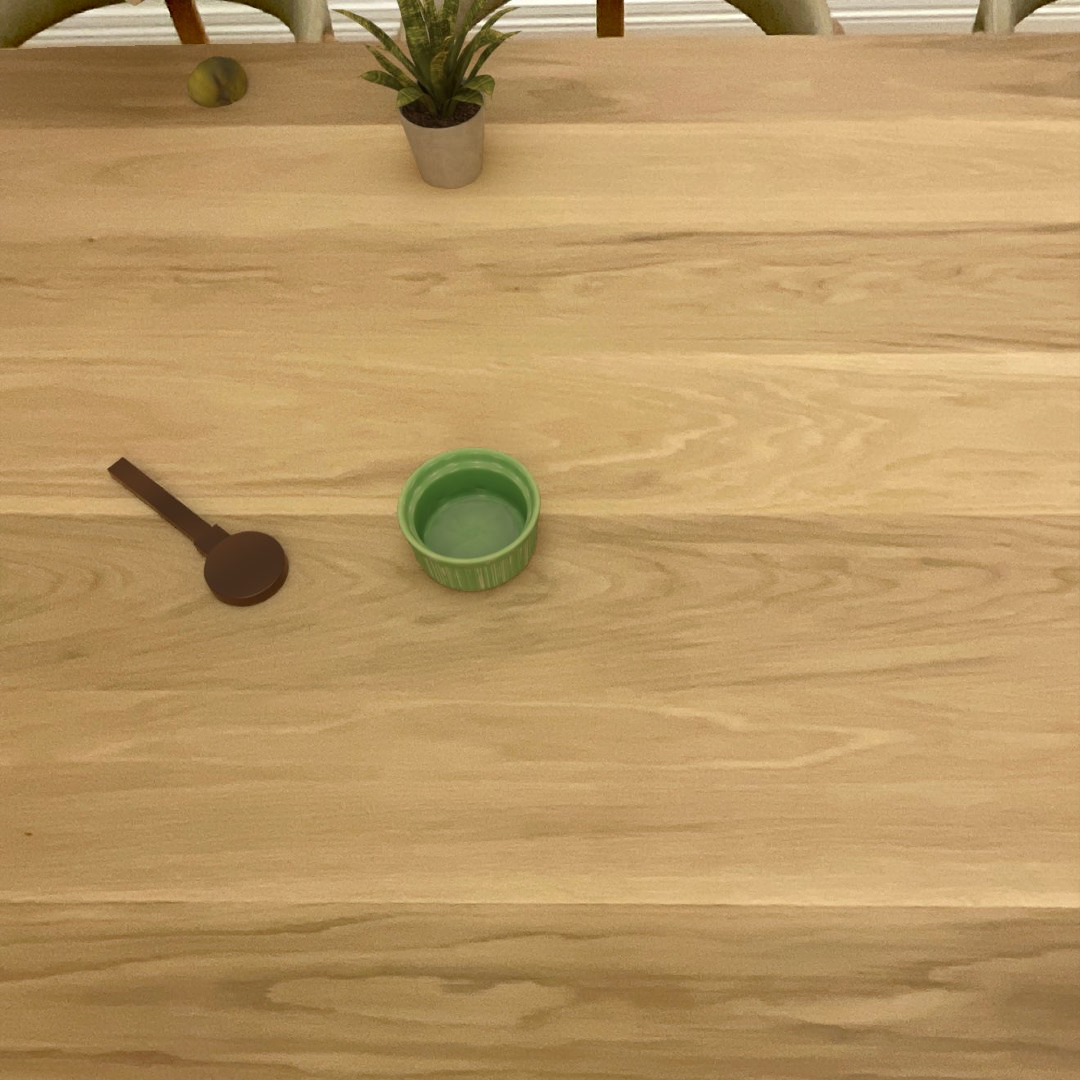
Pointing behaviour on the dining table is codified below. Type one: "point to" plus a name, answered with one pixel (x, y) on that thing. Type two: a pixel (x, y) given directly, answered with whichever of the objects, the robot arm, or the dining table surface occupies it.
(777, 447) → the dining table surface
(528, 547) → the ramekin
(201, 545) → the spoon
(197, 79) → the lime
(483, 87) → the house plant
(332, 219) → the dining table surface
